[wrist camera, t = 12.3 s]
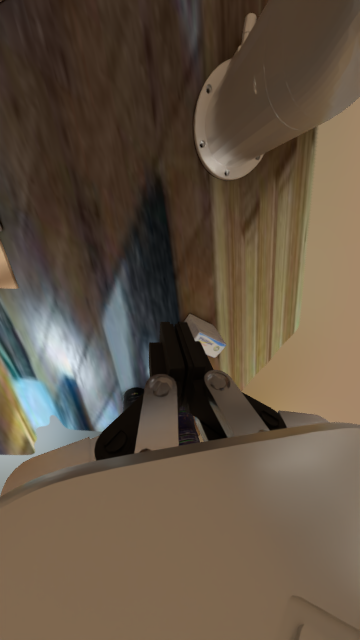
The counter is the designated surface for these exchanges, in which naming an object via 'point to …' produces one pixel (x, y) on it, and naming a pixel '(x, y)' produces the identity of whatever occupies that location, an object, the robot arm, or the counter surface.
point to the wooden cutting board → (6, 271)
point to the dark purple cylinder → (186, 428)
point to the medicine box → (206, 335)
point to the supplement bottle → (131, 397)
